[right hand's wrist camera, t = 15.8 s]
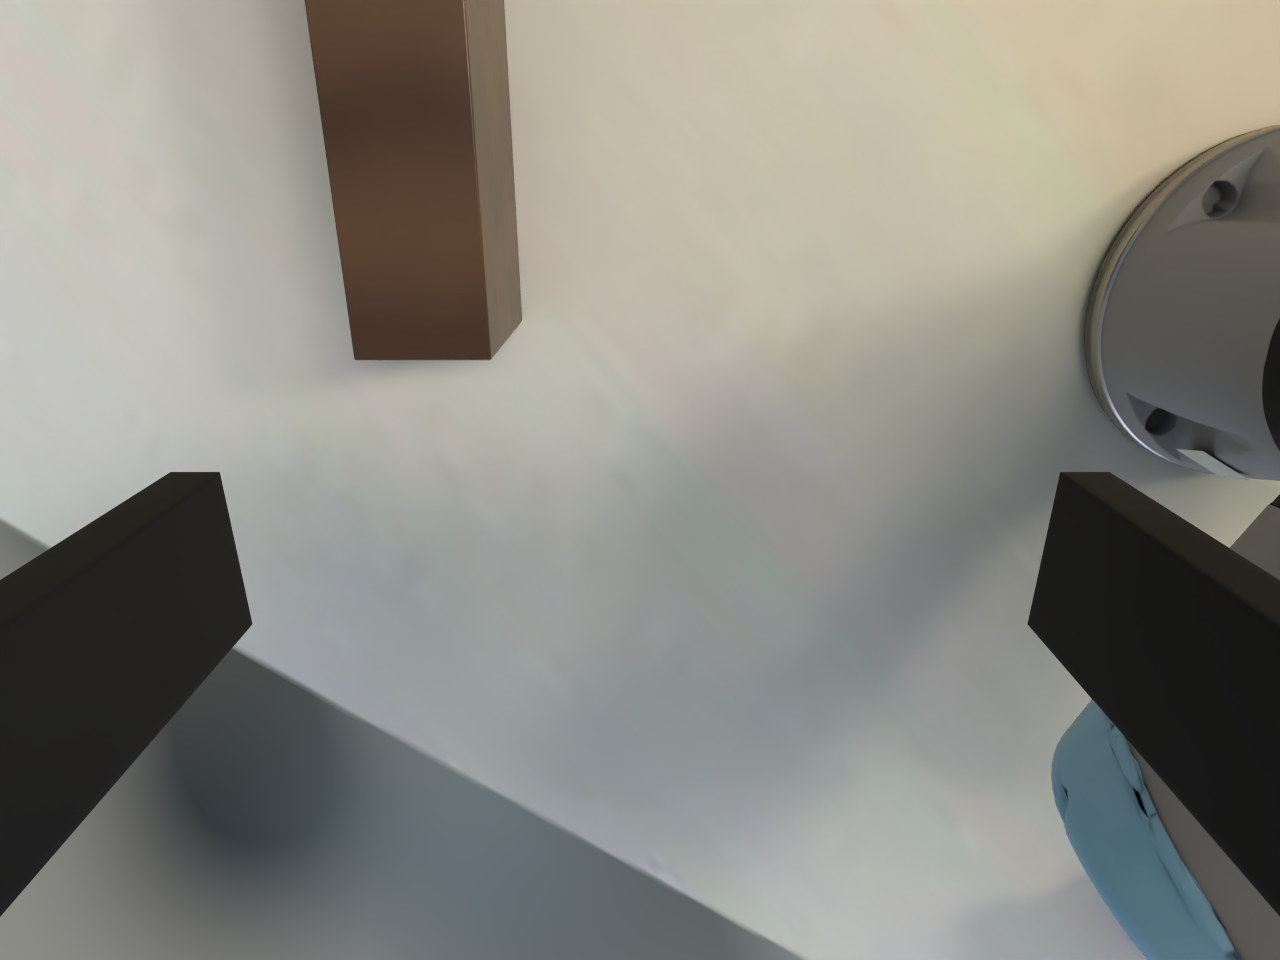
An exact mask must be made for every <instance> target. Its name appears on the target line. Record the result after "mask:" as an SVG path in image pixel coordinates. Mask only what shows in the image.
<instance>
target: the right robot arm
mask: <svg viewBox="0 0 1280 960" xmlns="http://www.w3.org/2000/svg"><path fill="white" fill-rule="evenodd" d="M1084 341H1085V358H1086V365H1087V371H1088V374H1089V378H1090V382H1091V385H1092V388H1093V390H1094V393H1095V395H1096V398H1097V399H1098V401H1099V403H1100V405H1101V407H1102V409H1103V410H1104V412H1105V413H1106V414H1107V416H1108V417H1109V419H1110V420H1111V421H1112V422H1113V423H1114V424H1115V425H1116V427H1117V428H1118V429H1119V430H1120V431H1121V432H1123V433H1124V434H1125V435H1126V436H1127V437H1128V438H1130V439H1131V440H1133V441H1134V442H1136V443H1137V444H1139V445H1140V446H1142V447H1143V448H1145V449H1147V450H1149V451H1151V452H1153V453H1155V454H1156V455H1158V456H1160V457H1162V458H1164V459H1166V460H1168V461H1170V462H1173V463H1176V464H1179V465H1181V466H1184V467H1188V468H1191V469H1194V470H1198V471H1202V472H1205V473H1210V474H1215V475H1218V476H1219V477H1226V478H1235V479H1243V480H1248V479H1246V478H1254V479H1265V480H1277V481H1280V125H1276V126H1271V127H1267V128H1263V129H1259V130H1255V131H1252V132H1249V133H1246V134H1243V135H1241V136H1238V137H1235V138H1233V139H1231V140H1229V141H1226V142H1224V143H1222V144H1220V145H1218V146H1216V147H1214V148H1212V149H1210V150H1209V151H1207V152H1205V153H1203V154H1201V155H1200V156H1198V157H1197V158H1195V159H1194V160H1192V161H1191V162H1189V163H1188V164H1186V165H1185V166H1183V167H1182V168H1181V169H1180V170H1178V171H1177V172H1176V173H1174V174H1173V175H1172V176H1171V177H1169V178H1168V179H1167V180H1166V181H1165V182H1164V183H1163V184H1162V185H1160V186H1159V187H1158V188H1157V189H1156V190H1155V191H1154V192H1153V193H1152V194H1151V195H1150V196H1149V197H1148V198H1147V199H1146V200H1145V201H1144V203H1143V204H1142V205H1141V206H1140V207H1139V208H1138V209H1137V210H1136V212H1135V213H1134V214H1133V216H1132V217H1131V218H1130V219H1129V221H1128V222H1127V223H1126V225H1125V226H1124V228H1123V229H1122V231H1121V232H1120V234H1119V235H1118V237H1117V238H1116V240H1115V241H1114V243H1113V245H1112V247H1111V248H1110V250H1109V252H1108V254H1107V256H1106V258H1105V260H1104V262H1103V264H1102V266H1101V269H1100V271H1099V273H1098V276H1097V279H1096V281H1095V284H1094V287H1093V290H1092V294H1091V297H1090V301H1089V305H1088V311H1087V317H1086V323H1085V338H1084ZM251 625H252V620H251V616H250V611H249V606H248V602H247V597H246V592H245V588H244V583H243V578H242V574H241V569H240V564H239V560H238V555H237V550H236V546H235V541H234V537H233V532H232V527H231V523H230V518H229V513H228V509H227V504H226V499H225V495H224V490H223V485H222V481H221V476H220V472H170V473H169V474H167V475H165V476H164V477H162V478H161V479H159V480H157V481H156V482H154V483H153V484H151V485H150V486H148V487H146V488H145V489H143V490H142V491H140V492H139V493H137V494H135V495H134V496H132V497H131V498H129V499H127V500H126V501H124V502H123V503H121V504H120V505H118V506H116V507H115V508H113V509H112V510H110V511H109V512H107V513H105V514H104V515H102V516H101V517H99V518H98V519H96V520H94V521H93V522H91V523H90V524H88V525H86V526H85V527H83V528H82V529H80V530H79V531H77V532H75V533H74V534H72V535H71V536H69V537H68V538H66V539H64V540H63V541H61V542H60V543H58V544H57V545H55V546H53V547H52V548H50V549H49V550H47V551H45V552H44V553H42V554H41V555H39V556H38V557H36V558H34V559H33V560H31V561H30V562H28V563H27V564H25V565H23V566H22V567H20V568H19V569H17V570H16V571H14V572H12V573H11V574H9V575H8V576H6V577H4V578H3V579H1V580H0V916H1V915H2V914H3V913H4V912H5V910H6V909H7V908H8V907H9V906H10V905H11V904H12V902H13V901H14V900H15V899H16V898H17V897H18V895H19V894H20V893H21V892H22V891H23V890H24V888H25V887H26V886H27V885H28V884H29V883H30V881H31V880H32V879H33V878H34V877H35V876H36V875H37V873H38V872H39V871H40V870H41V869H42V868H43V866H44V865H45V864H46V863H47V862H48V861H49V859H50V858H51V857H52V856H53V855H54V854H55V852H56V851H57V850H58V849H59V848H60V847H61V846H62V844H63V843H64V842H65V841H66V840H67V839H68V837H69V836H70V835H71V834H72V833H73V832H74V830H75V829H76V828H77V827H78V826H79V825H80V823H81V822H82V821H83V820H84V819H85V818H86V817H87V815H88V814H89V813H90V812H91V811H92V810H93V808H94V807H95V806H96V805H97V804H98V803H99V801H100V800H101V799H102V798H103V797H104V796H105V795H106V793H107V792H108V791H109V790H110V789H111V787H112V786H113V785H114V784H115V783H116V782H117V781H118V779H119V778H120V777H121V776H122V775H123V774H124V772H125V771H126V770H127V769H128V768H129V767H130V766H131V764H132V763H133V762H134V761H135V760H136V759H137V757H138V756H139V755H140V754H141V753H142V752H143V750H144V749H145V748H146V747H147V746H148V745H149V743H150V742H151V741H152V740H153V739H154V738H155V737H156V735H157V734H158V733H159V732H160V731H161V730H162V728H163V727H164V726H165V725H166V724H167V723H168V721H169V720H170V719H171V718H172V717H173V716H174V714H175V713H176V712H177V711H178V710H179V709H180V708H181V706H182V705H183V704H184V703H185V702H186V701H187V699H188V698H189V697H190V696H191V695H192V694H193V692H194V691H195V690H196V689H197V688H198V687H199V685H200V684H201V683H202V682H203V681H204V680H205V679H206V677H207V676H208V675H209V674H210V673H211V672H212V670H213V669H214V668H215V667H216V666H217V665H218V663H219V662H220V661H221V660H222V659H223V658H224V656H225V655H226V654H227V653H228V652H229V651H230V650H231V648H232V647H233V646H234V645H235V644H236V643H237V641H238V640H239V639H240V638H241V637H242V636H243V634H244V633H245V632H246V631H247V630H248V629H249V628H250V626H251ZM1028 625H1029V626H1030V628H1031V629H1032V630H1033V631H1034V632H1035V633H1036V634H1037V636H1038V637H1039V638H1040V639H1041V640H1042V641H1043V643H1044V644H1045V645H1046V646H1047V647H1048V648H1049V650H1050V651H1051V652H1052V653H1053V654H1054V655H1055V656H1056V658H1057V659H1058V660H1059V661H1060V662H1061V663H1062V665H1063V666H1064V667H1065V668H1066V669H1067V670H1068V672H1069V673H1070V674H1071V675H1072V676H1073V677H1074V679H1075V680H1076V681H1077V682H1078V683H1079V684H1080V685H1081V687H1082V688H1083V689H1084V690H1085V691H1086V692H1087V694H1088V695H1089V696H1090V697H1091V698H1092V700H1091V701H1090V702H1089V704H1088V705H1087V706H1086V707H1085V709H1084V710H1083V711H1082V712H1081V713H1080V715H1079V716H1078V717H1077V718H1076V720H1075V721H1074V722H1073V723H1072V725H1071V726H1070V727H1069V728H1068V730H1067V731H1066V732H1065V733H1064V735H1063V736H1062V738H1061V739H1060V741H1059V743H1058V745H1057V747H1056V750H1055V752H1054V756H1053V761H1052V773H1051V779H1052V788H1053V792H1054V797H1055V803H1056V806H1057V808H1058V811H1059V813H1060V815H1061V818H1062V820H1063V822H1064V826H1065V829H1066V834H1067V836H1068V838H1069V840H1070V842H1071V844H1072V846H1073V848H1074V851H1075V852H1076V854H1077V856H1078V858H1079V860H1080V862H1081V864H1082V866H1083V867H1084V869H1085V871H1086V873H1087V874H1088V876H1089V878H1090V879H1091V881H1092V883H1093V884H1094V886H1095V888H1096V889H1097V891H1098V892H1099V894H1100V895H1101V897H1102V898H1103V900H1104V901H1105V903H1106V904H1107V906H1108V907H1109V909H1110V910H1111V912H1112V913H1113V914H1114V916H1115V917H1116V919H1117V920H1118V922H1119V923H1120V924H1121V926H1122V927H1123V928H1124V930H1125V931H1126V932H1127V934H1128V935H1129V936H1130V938H1131V939H1132V940H1133V942H1134V943H1135V944H1136V945H1137V947H1138V948H1139V949H1140V950H1141V952H1142V953H1143V954H1144V955H1145V957H1146V958H1147V959H1148V960H1280V495H1279V496H1278V497H1277V498H1276V499H1275V500H1274V501H1273V502H1272V503H1271V504H1270V505H1268V506H1267V507H1266V508H1265V509H1264V510H1263V511H1262V513H1261V514H1260V515H1259V516H1258V517H1257V518H1256V519H1255V520H1254V521H1253V523H1252V524H1251V525H1250V526H1249V527H1248V528H1247V529H1246V530H1245V531H1244V533H1243V534H1242V535H1241V536H1240V537H1239V538H1238V539H1237V540H1236V542H1235V543H1234V544H1233V545H1232V546H1231V547H1230V548H1228V547H1227V546H1225V545H1223V544H1222V543H1220V542H1219V541H1217V540H1216V539H1214V538H1212V537H1211V536H1209V535H1208V534H1206V533H1205V532H1203V531H1201V530H1200V529H1198V528H1197V527H1195V526H1194V525H1192V524H1190V523H1189V522H1187V521H1186V520H1184V519H1182V518H1181V517H1179V516H1178V515H1176V514H1175V513H1173V512H1171V511H1170V510H1168V509H1167V508H1165V507H1164V506H1162V505H1160V504H1159V503H1157V502H1156V501H1154V500H1153V499H1151V498H1149V497H1148V496H1146V495H1145V494H1143V493H1141V492H1140V491H1138V490H1137V489H1135V488H1134V487H1132V486H1130V485H1129V484H1127V483H1126V482H1124V481H1123V480H1121V479H1119V478H1118V477H1116V476H1115V475H1113V474H1111V473H1110V472H1060V476H1059V481H1058V485H1057V490H1056V495H1055V499H1054V504H1053V509H1052V513H1051V518H1050V523H1049V527H1048V532H1047V537H1046V541H1045V546H1044V550H1043V555H1042V560H1041V564H1040V569H1039V574H1038V578H1037V583H1036V588H1035V592H1034V597H1033V602H1032V606H1031V611H1030V616H1029V620H1028Z"/></svg>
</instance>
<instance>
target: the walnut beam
mask: <svg viewBox="0 0 1280 960" xmlns="http://www.w3.org/2000/svg"><path fill="white" fill-rule="evenodd" d="M305 6H306V13H307V20H308V27H309V35H310V42H311V49H312V56H313V64H314V71H315V78H316V85H317V92H318V100H319V107H320V114H321V121H322V128H323V136H324V143H325V150H326V157H327V164H328V172H329V179H330V186H331V193H332V200H333V208H334V215H335V222H336V229H337V236H338V244H339V251H340V258H341V265H342V272H343V280H344V287H345V294H346V301H347V308H348V316H349V323H350V330H351V337H352V345H353V352H354V359H355V360H491V359H492V357H493V356H494V355H495V354H496V352H497V351H498V350H499V349H500V348H501V346H502V345H503V344H504V343H505V341H506V340H507V339H508V338H509V336H510V335H511V334H512V333H513V331H514V330H515V329H516V328H517V326H518V325H519V324H520V323H521V321H522V312H521V294H520V277H519V259H518V241H517V224H516V206H515V188H514V171H513V153H512V135H511V118H510V100H509V82H508V65H507V47H506V29H505V12H504V0H305Z"/></svg>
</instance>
